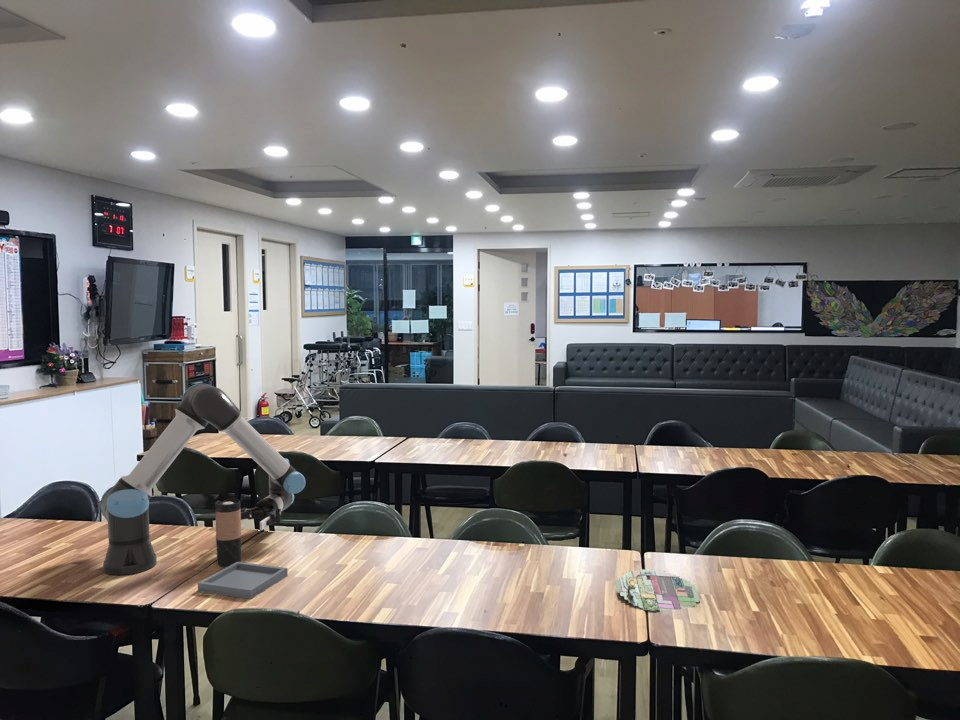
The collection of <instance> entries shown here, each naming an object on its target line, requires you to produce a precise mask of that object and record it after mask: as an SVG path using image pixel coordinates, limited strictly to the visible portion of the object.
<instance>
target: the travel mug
mask: <svg viewBox="0 0 960 720" xmlns="http://www.w3.org/2000/svg"><path fill="white" fill-rule="evenodd" d="M214 506H215V543H216V556H217V558H216V560H217V565H218V566H219V567H221V568H227V567H228V566H230V565H232V564H234V563H236V562H242V520H241V509H242V508H241V500H240V499H237V498H227V499H225V500H223V501H220V500H217V501H216V502H215V505H214Z"/></svg>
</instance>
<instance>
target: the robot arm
mask: <svg viewBox="0 0 960 720" xmlns="http://www.w3.org/2000/svg"><path fill="white" fill-rule="evenodd" d="M174 412H175V415H174V416H175V417H174V418H173V419H172V420H171V422H169V424H168V425H167V427H166V428H165V429H164V430H163V432H162V433H161V434H160V435H159V436H158V438H157V439H156V440H155V442H154V443H153V444H152V446H150V448H149V449H148V450H147V451H146V453H145V454H144V455H143V456H142V458H141V459H140V461H138V463H137V464H136V466H135V467H134V468H133V469H132V470H131V472H130V473H129V474H128V475H123V476H121V477H120V478H119V479H118V480H117V482H116V483H115V484H114V485H112V486H111V487H109V488H108V489H107V490H106V491H104V493H103V494H102V496H101V499H100V504H99V506H100V507H99V509H100V512H101V515H102V516H103V518H105V520H106V522H107V531H108V533H107V536H108V537H107V538H108V547H107V551H106V552H105V559H104V561H103V563H102V564H103V566H102V569H103V573H105V574H107V575H112V576H123V575H124V576H127V575H133V574H137V573H141V572H145V571H147V570H150V569H152V568H154V567H156V565H157V563H158V561H157V554H156V552H155V550H154V547H153V544H152V542H151V535H150V534H151V533H150V532H151V531H150V510H149V509H150V508H149V507H150V499H151V498H152V497H153V492H152V490H153V488H154V487H155V485H156V484H157V483H158V482H159V480H160V479H161V478H162V477H163V475H164V473H166V471H167V470H168V468H170V466H171V465H172V463H173V462H174V461H175V460H176V458H177V457H178V455H180V453H181V452H182V451H183V449H184V448H185V446H187V444H188V443H189V441H190V440H191V439H192V437H193V436H194V435H195V434H196V432H198V431H199V430H203V429H206V427H207V425H209V424H210V425H211V426H213V427H214V428H216V429H217V430H218V432H220V433H221V432H222V433H223V432H224V433H225V434H226V435H227V436H228V437H229V438H230V439H231V440H233V441H234V443H235V444H236V445H238V446H239V447H240V448H241V449H242V450H243V451H244V453H246V454H247V455H248V456H249V457H250V458H251V459H252V460H253V461H254V462H255V463H256V464H257V465H258V466H259V467H260V468H262V470H264V471H265V472H266V473H267V474H268V491H269V492H268V495H267V496H266V497H263V498H262V499H261V500H259V501H258V502H257V503H256V504H255V506H253V507H252V508H248V507H243V508H240V509H241V521H242V520H243V521H244V520H254V519H255V520H257V519H259V520H261V521H259V531H263V530H265V529H266V528H268V527H269V526H271V525H275V523H276V524H278V525H279V524H281V516H282V512H283V511H284V510H287V509H288V508H289V507H291V505H292V504H293V503H294V500H295V495H294V494H298V493H299V494H300V492H302V491H303V490H304V489H305V487H306V478H305V476H304V475H303V474H302V473H301V472H299V471H297V469H295V468H294V467H293V465H291V464H290V460H289V459H288V458H286V457H285V458H284V457H283V456H282V455H281V454H280V453H279V452H278V451H277V450H276V448H274V447H273V446H272V445H271V444H270V443H269V442H268V441H267V440H266V439H265V438H264V436H263V435H261V434H260V433H259V432H258V431H257V429H255V427H253V426H252V425H251V423H249V421H247V420H246V419H245V418H244V416H242V413H243V412H242V410H241V409H239V408H238V406H237V405H236V404H235V402H233V401H232V399H231V398H230V397H229V396H228V395H227V393H225V392H224V390H222V389H221V388H219V387H216V386H214V385H211V384H209V383H198V384H197V383H196V384H194V385H192V386H191V385H190V387H188V388H187V389H186V390H185V392H184V393H183V396H182V400H181V402H180V403H179V404H178V405H177V406H176V407H175V409H174Z"/></svg>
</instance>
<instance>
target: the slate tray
mask: <svg viewBox="0 0 960 720" xmlns="http://www.w3.org/2000/svg"><path fill="white" fill-rule="evenodd" d="M288 573H289V572H288V567H282V566H274V565H265V564H260V563H250V562H249V563H248V562H242V561H241V562H236V563H234V564H232V565H230V566H228V567H224V568H223V569H221V570H219V571H217V572H215V573H214V574H212V575H210V576H209V577H208V576H207V577H206V578H204V579H203V580H200V581H199V582H197V592H199V593H205V594H206V593H207V594H214V595H220V596H228V597H234V598H241V599H249V600H252V599H254V598H255V597H257V596H258V595H260V594H261V593H263V592H265V591H266V590H268V589H270V588H271V587H272V586H275V585H277V583H279V582H280V581H282V580H283V579H285V578H287V577H289V575H288Z"/></svg>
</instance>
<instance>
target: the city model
mask: <svg viewBox="0 0 960 720" xmlns="http://www.w3.org/2000/svg"><path fill="white" fill-rule="evenodd" d="M615 587H616V592H617V593H619V595H620V596H621V597H623V598H624V600H625V601H628V603H629V604H631V605H633V606H634V607H635V606H636V607H638V608H640V609H642V610H643V611H646V612H651V613H652V612H653V613H654V612H665V611H672V610H673V611H674V610H682V609H683V610H685V609H690V608H691V609H693V607H695V608H696V607H697V608H698V606H697V603H700V601H701V599H700V597H699V593H698V591H697V588H696V585H695V584H691V581H690V580H687V579H686V578H683V577H682V578H681V577H680V576H679V575H677V574H674V573H669V572H666V571H664V570H660V569H659V570H657V569H656V570H655V569H639V570H635V569H634V570H630V571H626V572H625V573H624V574H623V575H622V576H621V577H618V579H615Z"/></svg>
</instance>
